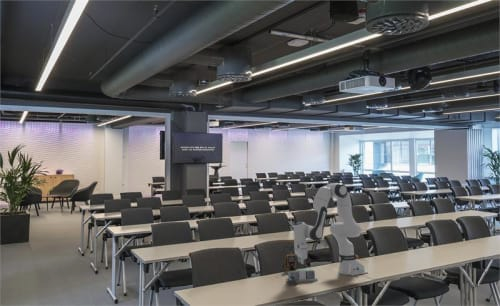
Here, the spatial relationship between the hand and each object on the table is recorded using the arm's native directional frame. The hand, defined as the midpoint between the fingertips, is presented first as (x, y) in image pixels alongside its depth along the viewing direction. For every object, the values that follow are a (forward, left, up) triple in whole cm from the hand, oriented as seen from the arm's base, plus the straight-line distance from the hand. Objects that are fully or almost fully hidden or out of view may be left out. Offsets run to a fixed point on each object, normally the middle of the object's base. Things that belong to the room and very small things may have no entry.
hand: (301, 262), depth 289 cm
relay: (+9, +7, -13) cm, 18 cm away
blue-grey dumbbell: (0, 0, -13) cm, 13 cm away
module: (0, 0, -12) cm, 12 cm away
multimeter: (-1, -25, -13) cm, 29 cm away
